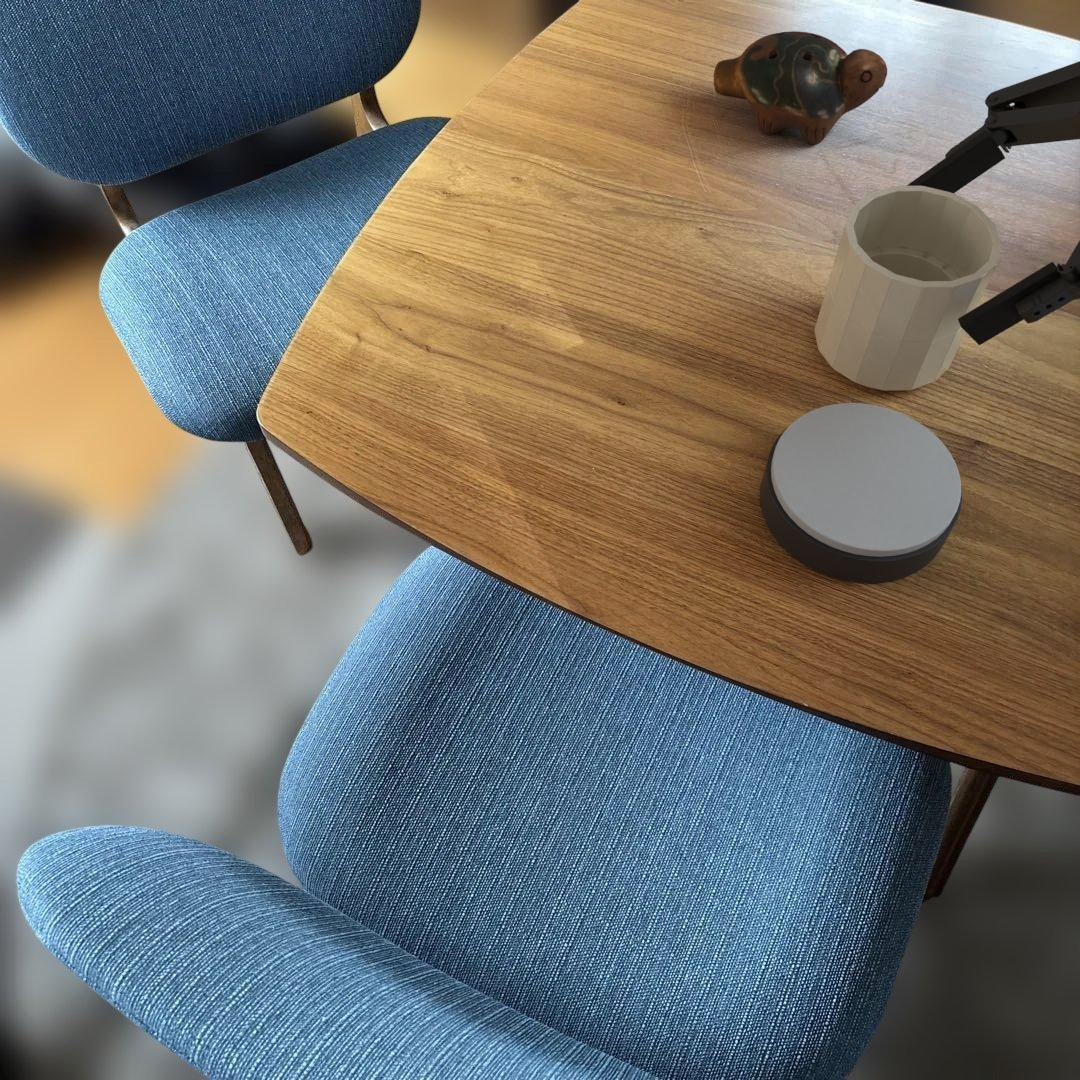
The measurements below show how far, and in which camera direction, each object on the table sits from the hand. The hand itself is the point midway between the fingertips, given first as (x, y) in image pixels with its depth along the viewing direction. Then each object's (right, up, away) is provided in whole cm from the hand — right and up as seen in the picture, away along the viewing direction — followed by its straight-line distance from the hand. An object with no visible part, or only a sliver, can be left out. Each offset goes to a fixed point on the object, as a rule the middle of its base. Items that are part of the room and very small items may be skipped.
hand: (938, 263), depth 73 cm
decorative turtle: (-5, +19, +23) cm, 30 cm away
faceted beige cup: (-2, -5, +7) cm, 8 cm away
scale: (-7, -17, -2) cm, 18 cm away
